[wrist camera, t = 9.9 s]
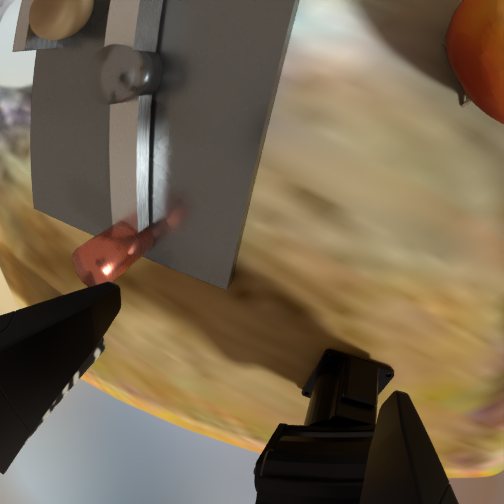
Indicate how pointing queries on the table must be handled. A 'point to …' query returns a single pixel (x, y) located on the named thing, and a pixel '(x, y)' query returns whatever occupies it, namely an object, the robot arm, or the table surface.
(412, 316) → the table surface
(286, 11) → the base
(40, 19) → the wooden ball
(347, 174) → the table surface
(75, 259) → the lever
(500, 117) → the fruit
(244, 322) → the table surface
